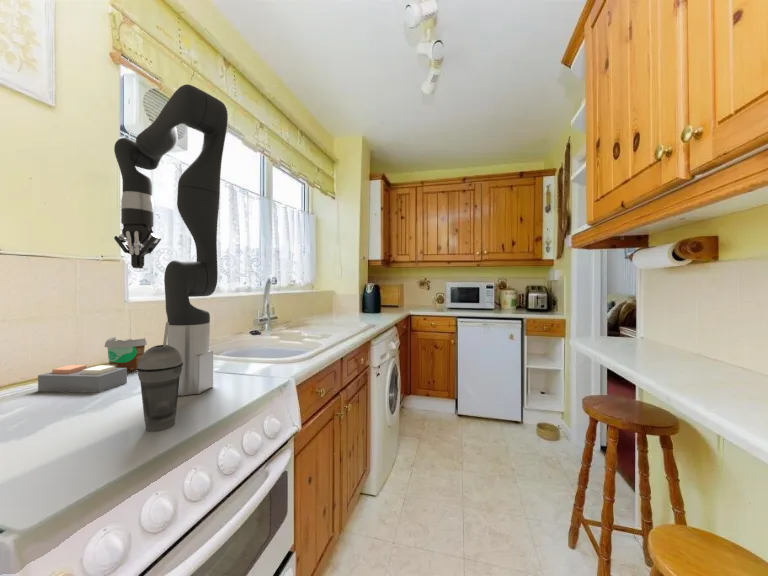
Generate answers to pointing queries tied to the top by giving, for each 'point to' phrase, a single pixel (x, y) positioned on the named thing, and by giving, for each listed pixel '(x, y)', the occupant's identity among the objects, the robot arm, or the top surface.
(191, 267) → the robot arm
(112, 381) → the key console
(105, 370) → the cream key
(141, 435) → the top surface
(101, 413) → the top surface
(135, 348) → the food container
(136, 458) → the top surface
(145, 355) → the beverage cup
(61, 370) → the terracotta key
